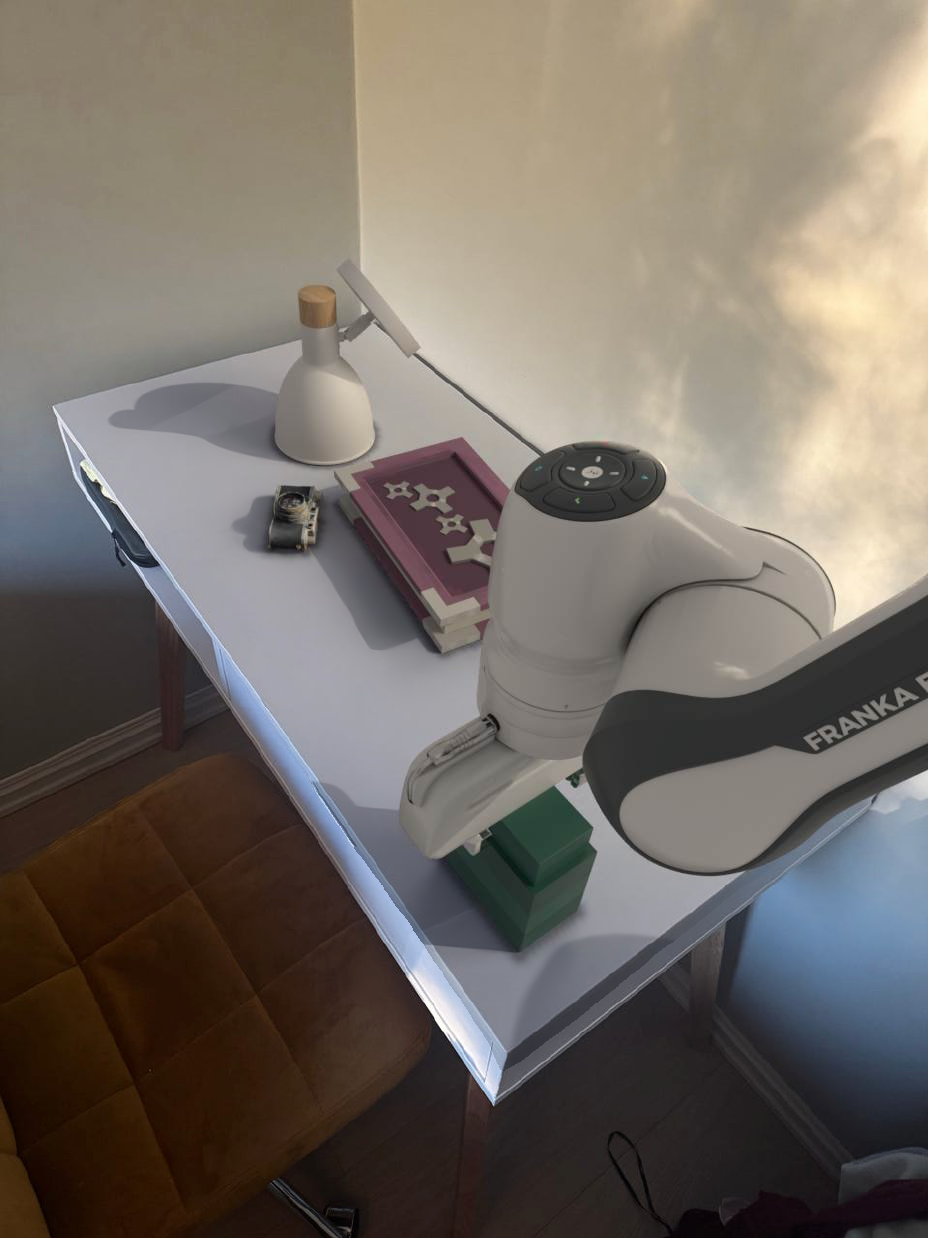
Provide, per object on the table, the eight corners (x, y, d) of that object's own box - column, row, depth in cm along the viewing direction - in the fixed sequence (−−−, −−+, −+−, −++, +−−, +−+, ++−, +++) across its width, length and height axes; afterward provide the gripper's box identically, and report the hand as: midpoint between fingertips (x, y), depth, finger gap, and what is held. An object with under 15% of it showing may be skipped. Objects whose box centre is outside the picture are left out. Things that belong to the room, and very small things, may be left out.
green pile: (578, 909, 71) (597, 851, 65) (519, 953, 68) (533, 896, 62) (499, 818, 76) (510, 756, 70) (441, 855, 74) (447, 793, 67)
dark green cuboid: (587, 849, 65) (594, 827, 62) (533, 887, 62) (539, 865, 60) (508, 763, 69) (512, 739, 67) (456, 795, 67) (458, 771, 65)
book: (335, 505, 103) (333, 469, 100) (459, 470, 109) (461, 435, 106) (438, 655, 89) (440, 619, 85) (575, 605, 95) (582, 570, 91)
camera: (324, 496, 104) (322, 467, 101) (313, 557, 97) (311, 527, 94) (280, 494, 104) (277, 464, 101) (266, 554, 97) (262, 524, 94)
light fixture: (295, 449, 120) (189, 354, 104) (414, 342, 117) (324, 228, 101) (330, 505, 112) (222, 412, 96) (458, 393, 110) (369, 278, 94)
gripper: (442, 806, 48) (433, 924, 58) (702, 647, 57) (657, 772, 67) (377, 728, 52) (379, 852, 61) (633, 590, 61) (599, 717, 71)
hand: (526, 809), depth 64 cm, fingers open, 8 cm apart
